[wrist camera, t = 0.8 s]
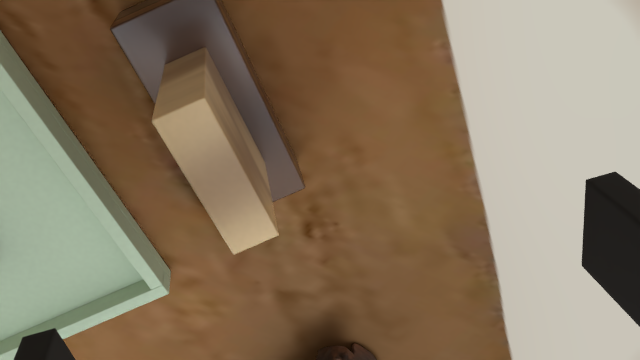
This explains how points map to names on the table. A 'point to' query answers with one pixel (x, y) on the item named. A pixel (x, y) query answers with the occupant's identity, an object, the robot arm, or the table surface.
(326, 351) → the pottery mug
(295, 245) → the table surface
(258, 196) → the chalkboard eraser
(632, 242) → the robot arm
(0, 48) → the tray
